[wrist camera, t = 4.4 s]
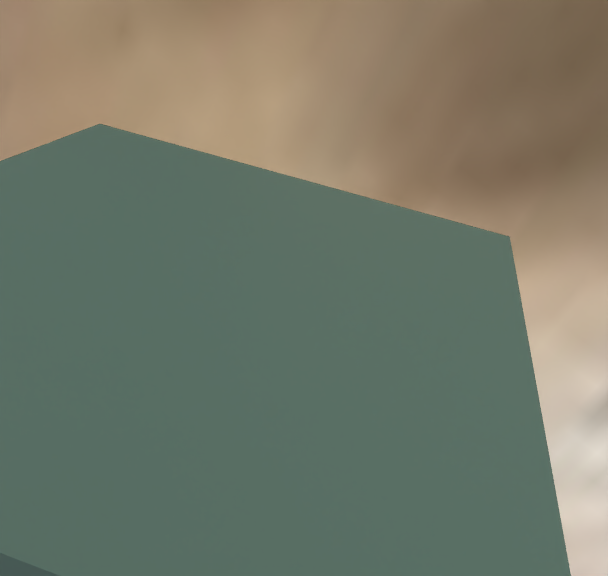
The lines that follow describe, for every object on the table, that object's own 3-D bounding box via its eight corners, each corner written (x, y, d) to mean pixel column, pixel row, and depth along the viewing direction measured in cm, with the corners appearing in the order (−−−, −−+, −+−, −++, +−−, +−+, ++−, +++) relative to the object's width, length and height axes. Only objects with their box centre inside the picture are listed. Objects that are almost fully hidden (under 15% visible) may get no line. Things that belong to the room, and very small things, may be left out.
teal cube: (98, 420, 11) (-211, 787, 6) (99, 123, 8) (-513, 354, 3) (389, 521, 10) (318, 1032, 5) (510, 236, 7) (609, 786, 2)
